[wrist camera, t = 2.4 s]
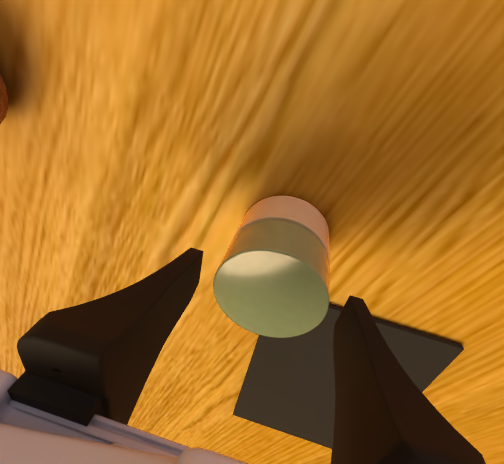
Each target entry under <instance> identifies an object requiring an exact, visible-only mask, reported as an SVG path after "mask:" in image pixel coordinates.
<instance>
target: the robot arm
mask: <svg viewBox="0 0 504 464" xmlns="http://www.w3.org/2000/svg"><path fill="white" fill-rule="evenodd" d="M202 257H203V251H201V250H197V249H194V248H190V249H188V250H187V251H185V252H184V253H183V254H181V255H180V256H179V257H177V258H176V259H174V260H173V261H172V262H170V263H169V264H167V265H166V266H164V267H162V268H161V269H159V270H158V271H156V272H155V273H153V274H151V275H149V276H148V277H146V278H144V279H142V280H141V281H139V282H137V283H135V284H133V285H131V286H129V287H127V288H124V289H122V290H120V291H117V292H115V293H112V294H110V295H107V296H105V297H102V298H99V299H96V300H93V301H90V302H87V303H84V304H80V305H77V306H73V307H69V308H65V309H61V310H57V311H52V312H49V313H48V314H46V315H45V316H44V317H43V318H41V319H40V320H39V321H38V322H37V323H36V324H35V325H34V326H33V327H32V328H31V329H30V330H29V331H28V332H26V333H25V334H24V335H23V336H22V337H21V338H20V339H19V340H18V343H17V349H18V353H19V355H20V358H21V361H22V363H23V366H24V368H25V372H24V373H23V374H22V375H21V376H20V378H19V379H17V377H15V376H14V375H13V374H11V373H9V372H6V371H3V370H0V464H248V463H245V462H242V461H239V460H236V459H233V458H231V457H228V456H225V455H222V454H219V453H216V452H214V451H211V450H207V449H202V448H198V447H197V448H190V447H187V446H184V445H181V444H179V443H176V442H173V441H170V440H167V439H164V438H162V437H159V436H156V435H153V434H150V433H147V432H145V431H142V430H139V429H136V428H133V427H130V426H128V425H127V424H128V421H129V419H130V417H131V414H132V412H133V410H134V407H135V405H136V403H137V401H138V398H139V396H140V394H141V392H142V390H143V387H144V385H145V383H146V381H147V379H148V376H149V374H150V372H151V370H152V368H153V366H154V364H155V362H156V360H157V358H158V355H159V353H160V351H161V349H162V347H163V345H164V343H165V342H166V340H167V338H168V336H169V335H170V333H171V331H172V330H173V328H174V327H175V325H176V323H177V322H178V320H179V319H180V317H181V315H182V314H183V312H184V310H185V309H186V307H187V306H188V304H189V302H190V301H191V299H192V297H193V294H194V292H195V290H196V288H197V286H198V283H199V279H200V272H201V264H202ZM333 357H334V377H335V417H334V433H333V446H332V457H331V464H486V463H485V461H484V459H483V456H482V454H481V453H480V452H479V451H478V450H477V449H475V448H474V447H473V446H472V445H471V444H470V443H469V442H468V441H467V440H466V439H465V438H464V437H463V436H462V435H461V434H460V433H459V432H458V431H456V430H455V429H454V428H453V426H452V425H451V424H450V423H449V422H448V421H447V420H446V419H445V418H444V417H443V416H442V415H441V414H440V413H439V412H438V411H437V410H436V408H435V407H434V406H433V405H432V404H431V403H430V402H429V400H428V399H427V398H426V397H425V396H424V395H423V393H422V392H421V391H420V390H419V389H418V387H417V386H416V385H415V384H414V382H413V381H412V380H411V378H410V377H409V376H408V374H407V373H406V372H405V370H404V369H403V367H402V366H401V365H400V363H399V362H398V360H397V359H396V357H395V356H394V354H393V352H392V351H391V349H390V348H389V346H388V344H387V343H386V341H385V339H384V338H383V336H382V334H381V332H380V331H379V329H378V327H377V325H376V323H375V321H374V319H373V317H372V316H371V314H370V312H369V310H368V308H367V306H366V304H365V302H364V300H363V299H360V298H357V297H354V296H349V298H348V300H347V302H346V304H345V306H344V307H343V309H342V311H341V313H340V315H339V317H338V319H337V320H336V322H335V326H334V337H333Z"/></svg>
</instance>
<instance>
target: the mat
mask: <svg viewBox="0 0 504 464" xmlns="http://www.w3.org/2000/svg"><path fill="white" fill-rule="evenodd" d="M342 309H343V308H341V307H337V306H334V305H331V304H329V308H328V311H327V314H326V315H325V317H324V319H323V320H322V321H321V323H320V324H319V325H318V326H316V327H315V328H314V329H312V330H311V331H309V332H307V333H304V334H302V335H298V336H294V337H287V338H275V337H267V336H263V335H259V337H258V340H257V343H256V346H255V349H254V352H253V355H252V358H251V361H250V364H249V367H248V370H247V373H246V376H245V379H244V382H243V385H242V388H241V391H240V394H239V397H238V400H237V403H236V406H235V409H234V413H233V415H235V416H238V417H241V418H244V419H247V420H250V421H253V422H256V423H258V424H261V425H264V426H267V427H270V428H273V429H276V430H279V431H282V432H285V433H288V434H290V435H293V436H296V437H299V438H302V439H305V440H308V441H311V442H314V443H317V444H320V445H322V446H325V447H328V448H331V449H332V446H333V433H334V417H335V377H334V357H333V337H334V326H335V322H336V320H337V319H338V317H339V315H340V313H341V311H342ZM373 319H374V321H375V323H376V325H377V327H378V329H379V331H380V332H381V334H382V336H383V338H384V339H385V341H386V343H387V344H388V346H389V348H390V349H391V351H392V352H393V354H394V356H395V357H396V359H397V360H398V362H399V363H400V365H401V366H402V367H403V369H404V370H405V372H406V373H407V374H408V376H409V377H410V378H411V380H412V381H413V382H414V384H415V385H416V386H417V387H418V389H419V390H420V391H421V392H423V391H424V390H425V389H426V388H427V387H428V386H429V385H430V384H431V383H432V381H433V380H434V379H435V378H436V377H437V376H438V375H439V374H440V373H441V372H442V371H443V370H444V369H445V368H446V367H447V366H448V365H449V364H450V363H451V362H452V361H453V360H454V359H455V358H456V357H457V356H458V355H459V354H460V353H461V352H462V351H463V350H464V348H463V346H462V345H461V344H458V343H455V342H452V341H448V340H445V339H442V338H439V337H435V336H432V335H429V334H426V333H422V332H419V331H416V330H413V329H409V328H406V327H403V326H400V325H396V324H393V323H390V322H386V321H383V320H380V319H377V318H373Z"/></svg>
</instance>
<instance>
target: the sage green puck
mask: <svg viewBox="0 0 504 464" xmlns="http://www.w3.org/2000/svg"><path fill="white" fill-rule="evenodd" d="M213 287H214V294H215V298H216V300H217V303H218V304H219V306H220V308H221V309H222V311H223V312H224V313H225V314H226V315H227V316H228V317H229V318H230V319H231V320H232V321H233V322H235V323H236V324H237V325H239V326H241V327H242V328H244V329H246V330H248V331H250V332H253V333H256V334H259V335H263V336H267V337H275V338H287V337H294V336H298V335H302V334H304V333H307V332H309V331H311V330H312V329H314V328H315V327H316V326H318V325H319V324H320V323H321V321H322V320H323V319H324V317H325V315H326V314H327V311H328V308H329V258H328V255H327V252H326V250H325V248H324V247H323V245H322V244H321V242H320V241H319V240H318V239H317V238H316V237H315V236H314V235H313V234H312V233H310V232H309V231H307V230H306V229H304V228H302V227H300V226H298V225H296V224H293V223H290V222H286V221H279V220H267V221H261V222H257V223H254V224H251V225H249V226H247V227H245V228H244V229H242V230H241V231H240V232H239V233H238V234H237V235H236V236H235V237H234V239H233V240H232V242H231V244H230V246H229V248H228V250H227V252H226V254H225V256H224V258H223V260H222V262H221V264H220V265H219V267H218V269H217V272H216V274H215V277H214V283H213Z"/></svg>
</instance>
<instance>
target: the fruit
mask: <svg viewBox="0 0 504 464" xmlns="http://www.w3.org/2000/svg"><path fill="white" fill-rule="evenodd" d="M8 105H9V102H8V95H7V89H6V85H5V83H4V81H3V78H2V76H1V74H0V124H1V122H2V121H3V120H4V118H5V117H6V113H7V109H8Z"/></svg>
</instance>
